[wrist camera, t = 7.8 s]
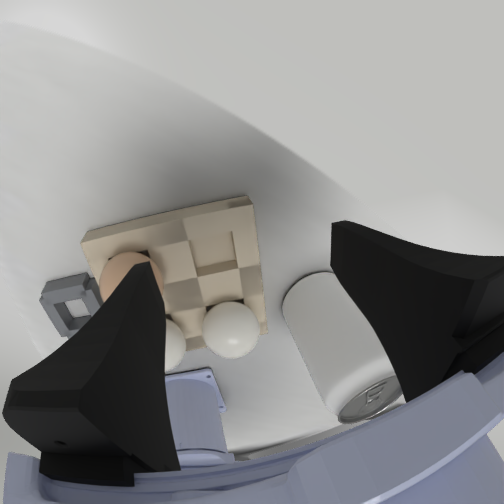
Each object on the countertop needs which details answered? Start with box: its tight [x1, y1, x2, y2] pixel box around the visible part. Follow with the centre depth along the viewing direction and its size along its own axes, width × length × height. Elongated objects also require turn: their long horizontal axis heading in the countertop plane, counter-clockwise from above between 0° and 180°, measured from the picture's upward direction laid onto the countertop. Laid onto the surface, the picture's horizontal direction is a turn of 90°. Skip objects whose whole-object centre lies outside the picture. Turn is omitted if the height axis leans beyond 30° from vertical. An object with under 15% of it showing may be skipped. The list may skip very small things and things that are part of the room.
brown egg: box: [99, 252, 164, 302], centre depth 18 cm, size 4×4×4 cm
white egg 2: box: [202, 301, 260, 359], centre depth 22 cm, size 4×4×4 cm
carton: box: [80, 196, 268, 351], centre depth 22 cm, size 12×12×2 cm
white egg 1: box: [165, 318, 186, 372], centre depth 21 cm, size 4×4×4 cm
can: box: [282, 272, 403, 424], centre depth 22 cm, size 6×6×12 cm
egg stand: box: [39, 273, 104, 339], centre depth 21 cm, size 5×5×2 cm
